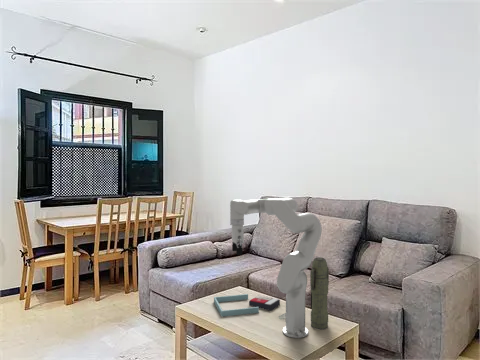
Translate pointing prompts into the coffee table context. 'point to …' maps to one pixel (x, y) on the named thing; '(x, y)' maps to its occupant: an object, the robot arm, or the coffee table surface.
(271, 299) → the calculator
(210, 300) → the coffee table surface
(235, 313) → the teal u-shaped piece
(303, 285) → the robot arm
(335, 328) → the coffee table surface
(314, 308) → the thermos
